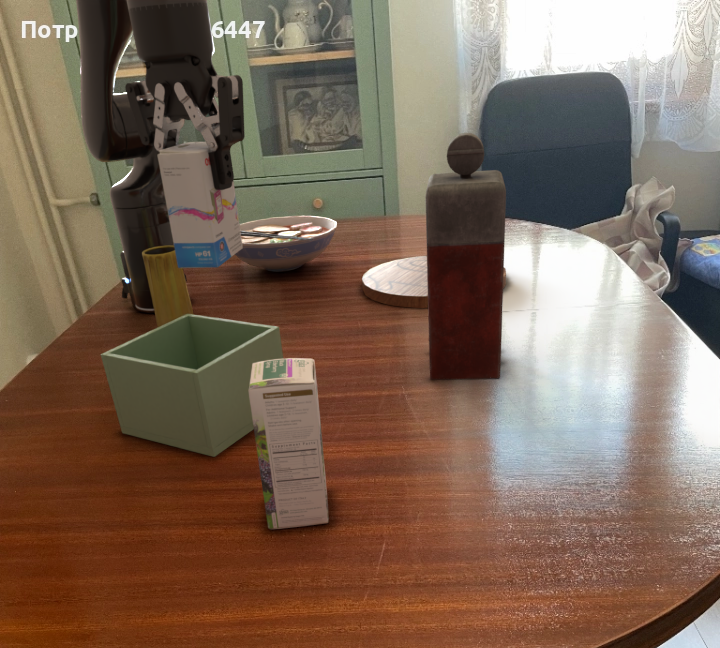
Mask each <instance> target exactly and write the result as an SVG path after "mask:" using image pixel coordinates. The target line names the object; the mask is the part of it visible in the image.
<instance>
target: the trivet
mask: <svg viewBox="0 0 720 648" xmlns="http://www.w3.org/2000/svg"><path fill="white" fill-rule="evenodd" d="M361 283H362V291H363V294H364V295H365V296H366V297H367V298H369V299H370V300H372V301H374V302H378V303H381V304H384V305H389V306H395V307H400V308H417V309H428V281H427V254H426V255H419V256H418V255H417V256H410V257H405V258H399V259H394V260H389V261H387V262H384V263H381V264H378V265H376V266H374V267H372V268H370V269H369V270H367V271H365V272H364V274H363V276H362V278H361ZM506 285H507V269H506V267H504V275H503V289H504V288H506Z"/></svg>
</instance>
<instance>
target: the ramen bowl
mask: <svg viewBox="0 0 720 648" xmlns="http://www.w3.org/2000/svg"><path fill="white" fill-rule="evenodd" d="M337 224H338V223H337V221H336V220H333V219H331V218H328V217H323V216H315V215H289V216H276V217H274V216H273V217H268V218H262V219H256V220H251V221H247V222H243V223H239V225H240V232H241V239H242V246H243V248H242V249H241V250H240V251H238V252H237V253H236V254H235V256H236V257H237V258H238V259H240V260H241V261H242V262H244V263H245V264H247V265H250V266H253V267H257V268H261V269H265V270H266V271H269V272H280V273H281V272H288V271H294V270H296V269H299V268H301V267H302V266H303V265H305V264H307V263H309V262H310V261H312V260H314V259H316V258H317V257H319V256H321V254H322V253H324V251H326V249H327V248H328V246H329V245H330V243H331V241H332V239H333V237H334V235H335V233H336V229H337Z"/></svg>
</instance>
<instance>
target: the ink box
mask: <svg viewBox="0 0 720 648" xmlns="http://www.w3.org/2000/svg"><path fill="white" fill-rule="evenodd" d="M159 152H160V154H158V161H159V166H160V172H161V177H162V183H163V188H164V194H165V199H166V204H167V210H168V215H169V220H170V226H171V231H172V237H173V242H174V247H175V253H176V259H177V265H178V268H183V269H207V268H209V269H211V268H212V269H213V268H214V269H215V268H219V267H221V266H222V265H223V264H224V263H226V262H227V261H228V260H229V259H231V258H232V257H233V256H234V255H235V254H236V253H237V252H238V251H240V250H241V249H242V248H243V246H242V239H241V232H240V225H239V224H240V219H239V211H238V204H237V196H236V189H235V182H234V181H235V180H233V182H232V186H231V187H230V188H228V189H224V190H216V189H215V188H214V183H213V177H212V171H211V166H210V160H209V154H208V152H212V151H211V150H210V149H209V148H208V146H207V144H206V142H205V141H187V142H183V143H179V144H178V145H176V146H173V147H169V148H166V149H163V150H160V151H159ZM235 256H236V255H235Z"/></svg>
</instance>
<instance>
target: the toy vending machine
mask: <svg viewBox="0 0 720 648" xmlns="http://www.w3.org/2000/svg"><path fill="white" fill-rule="evenodd" d="M484 159H485V148H484V144H483V142H482V140H481V139H480V137H479V136H478V135H476V134H474V133H472V132H462V133H458V134H457V135H455V136H453V138H452V139H451V140H450V142H449V144H448V146H447V151H446V162H447V164H448V166H449V168H450V170H452V172H440V173H439V172H438V173H433V174H430V176H429V178H428V181H427V186H426V190H425V230H426V231H425V232H426V233H425V235H426V255H427V281H428V308H427V315H428V316H427V317H428V318H427V319H428V354H429V355H428V361H429V380H432V381H437V380H439V381H440V380H487V379H491V380H492V379H501V367H502V366H501V365H502V334H503V305H504V304H503V301H504V299H503V298H504V288H503V275H504V268H505V241H506V240H505V239H506V209H507V208H506V207H507V189H506V185H505V181H504V177H503V174H502V172H501V171H499V170H498V169H493V170H491V169H490V170H479V169H480V168H481V167H482V165H483V162H484Z"/></svg>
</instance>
